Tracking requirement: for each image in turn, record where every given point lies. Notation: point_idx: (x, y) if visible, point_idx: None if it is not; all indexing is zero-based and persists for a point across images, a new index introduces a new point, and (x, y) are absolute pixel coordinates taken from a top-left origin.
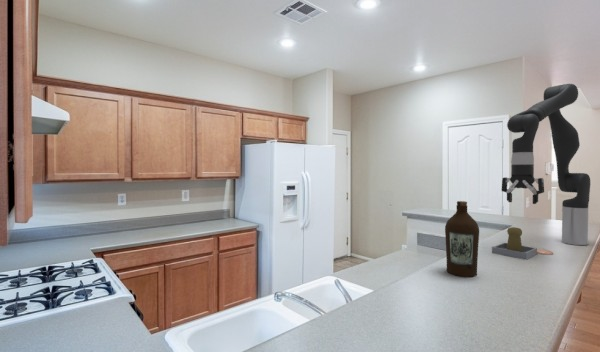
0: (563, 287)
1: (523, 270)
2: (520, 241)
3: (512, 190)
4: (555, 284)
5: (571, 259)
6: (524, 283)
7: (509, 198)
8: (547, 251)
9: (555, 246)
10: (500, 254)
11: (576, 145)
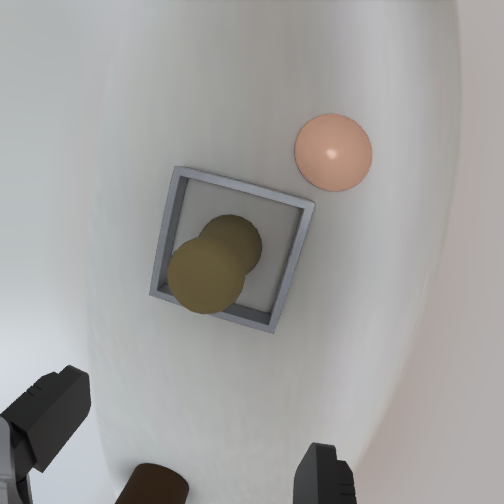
0: None
1: (269, 433)
2: (244, 273)
3: (13, 470)
4: None
5: (421, 220)
6: (272, 493)
7: (66, 434)
8: (351, 151)
9: (369, 11)
10: None
11: None
